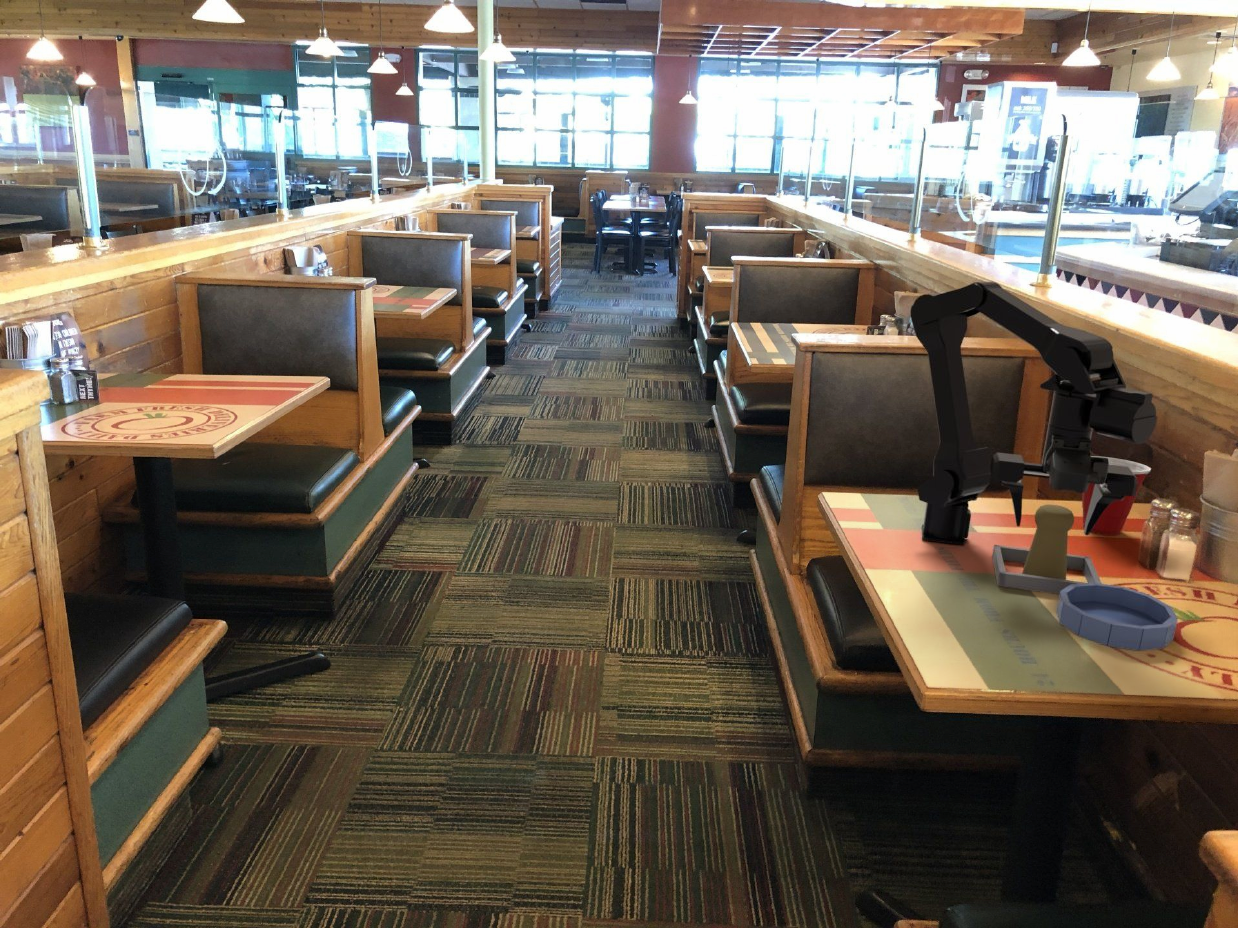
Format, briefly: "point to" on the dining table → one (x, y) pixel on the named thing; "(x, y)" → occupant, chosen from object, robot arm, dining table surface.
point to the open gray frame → (1037, 581)
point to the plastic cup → (1119, 509)
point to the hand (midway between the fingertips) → (1051, 529)
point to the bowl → (1116, 616)
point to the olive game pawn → (1049, 542)
